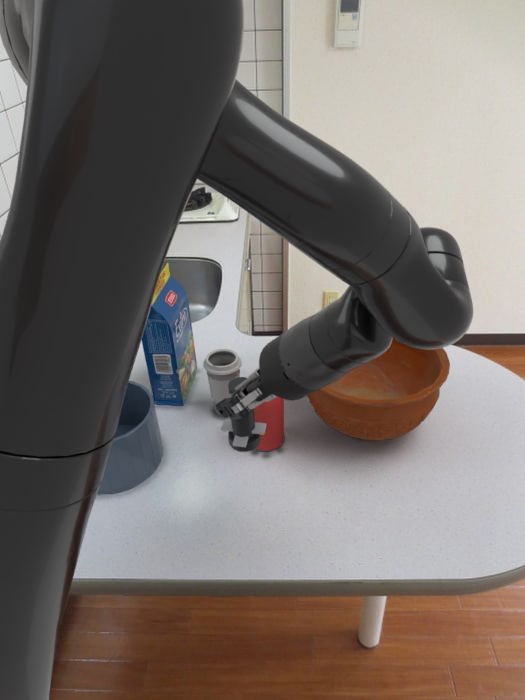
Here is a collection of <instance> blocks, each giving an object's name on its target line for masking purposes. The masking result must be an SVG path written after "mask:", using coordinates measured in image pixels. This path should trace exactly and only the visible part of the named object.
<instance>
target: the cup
mask: <svg viewBox="0 0 525 700" xmlns="http://www.w3.org/2000/svg"><path fill="white" fill-rule="evenodd" d="M242 364H243V362H242V360H241V358H240V356H239V354H238V353H237V352H236V351H234V350H232V349H229V348H217V349H214V350H212V351H210V352H208V353H207V354H206V356H205V358H204V360H203V364H202V365H203V368H204V370H205V371H206V376H207V381H208V386H209V390H210V396H211V398H212V401H213V402H212V403H213V407H214V411H215V413H216V414H217V415H219V416H221V415H220V413H219V412H218V411H217V409H216V404H217V403H218V402H220V401H221V400H223V399H225V398H226V397H228V395H229V390H228V384H229V382H230V381H231V380H232V379H234V378H237V377H241V367H242Z"/></svg>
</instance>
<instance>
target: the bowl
mask: <svg viewBox="0 0 525 700" xmlns="http://www.w3.org/2000/svg"><path fill="white" fill-rule="evenodd" d="M450 370H451V362H450V359H449V356H448V353H447V351H446V350H445V348H440V349H433V350H424V349H417V348H413V347H409V346H407V345H404V344H402V343H400V342H398V341H397V340H395V339H394V338H393V341H392V343H391V345H390V347H389V349H388V350H387V351H386V352H385V353H383V354H382V355H381V356H379V357H377V358H375V359H373V360H371V361H369V362H367V363H365V364H363V365H361V366H359V367H357V368H355V369H353V370H352V371H350V372H348V373H347V374H346V375H344V376H343V377H342V378H340V379H339V380H337V381H335V382H333V383H331V384H329V385H327V386H325V387H323V388H321V389H319V390H317V391H315V392H313V393H311V394H309V395H307V396H306V397H307V399H308V401H309V404H310V405H311V407H312V408H313V409H314V412H315V413H316V414H317V416H318V417H319V418H320V420H322V421H323V422H324V423H325V424H326V425H328V426H329V427H331V428H333V429H334V430H336V431H339V432H340V433H341V434H344V435H346V436H348V437H352V438H356V439H361V440H366V441H367V440H368V441H383V440H387V439H392V438H394V439H395V438H398V437H401V436H404V435H407V434H409V433H410V432H412V431H414V430H415V429H416V428H418V426H420V425H421V423H423V422H424V421H425V420H426V419H427V417H428V416H429V415H430V413H431V412H432V411H433V409H435V408H434V407H435V406H436V405H437V402H438V400H439V398H440V394H441V393H440V392H441V390H440V389H441V387H442V386H443V385H444V383H445V382H446V381H447V380H448V377H449V374H450Z"/></svg>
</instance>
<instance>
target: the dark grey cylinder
mask: <svg viewBox="0 0 525 700" xmlns="http://www.w3.org/2000/svg"><path fill="white" fill-rule="evenodd" d="M247 378H248V377H245V376H240V377H237V378H234V379H232V380H231V381H230V382H229V384H228V390H229V394H230V393H231V394H232V393H233V392H235V391H236V390H235V388H236V387H237V386H238V385H239V384H240V383H241V382H243V381H244V380H246V379H247ZM247 385H248V384H247ZM247 385H246V386H247ZM265 429H266V423H257V422H255V411H254V409H250V411H249V413H248V415H247V416H246V417H245V418H244V417H243V418H241V419H234V420H231V419H227V418H224V419H223V421H222V423H221V427H220V431H223V432H227V433H228V434H227V436H228V444H229V447H231V449H233V450H234V451H237V452H240V453H247V452H252V451H253V450H256V449H255V448H257V447H258V445H259V444H260V434H261V435H264V433H265Z"/></svg>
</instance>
